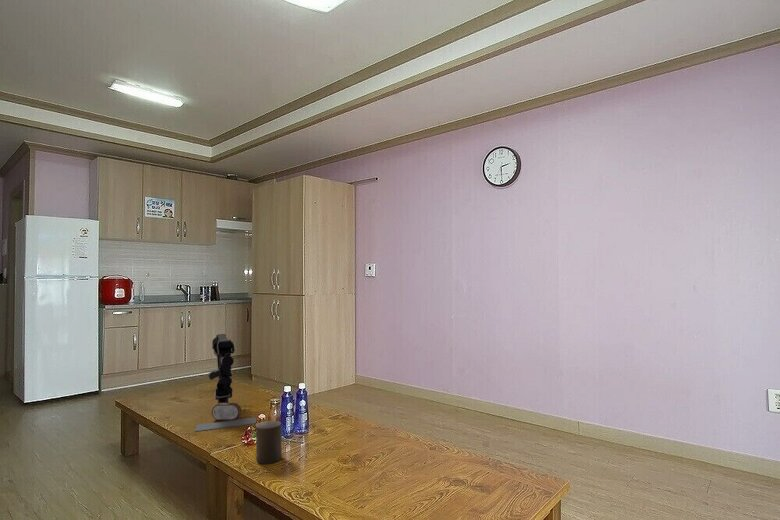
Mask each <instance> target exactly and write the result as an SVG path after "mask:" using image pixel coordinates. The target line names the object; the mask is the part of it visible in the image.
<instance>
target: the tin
mask: <svg viewBox="0 0 780 520" xmlns="http://www.w3.org/2000/svg"><path fill="white" fill-rule="evenodd" d="M241 414H242V408H241V406H240V405H239V403H236V402H229V403H218V402H217V403H216V404H215V405H214V406H213V407H212V409H211V416H212V418H213V419H215V420H216V421H230V420H238V419H239V418H240V416H241Z"/></svg>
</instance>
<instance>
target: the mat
mask: <svg viewBox="0 0 780 520" xmlns="http://www.w3.org/2000/svg"><path fill="white" fill-rule="evenodd" d="M247 425H257V419H256V417H255V416H254V417H245V418H237V419H235V420H221V421H217V422H210V423H207V422H206V423H202V424H196V426H195V429H194V432H196V431H198V432H204V431H203V430H205V431H210V429H212V430H218V428H220V429H225V428H226V429H227V428H232V427H233V428H234V427H240V426H247Z"/></svg>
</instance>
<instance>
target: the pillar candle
mask: <svg viewBox="0 0 780 520" xmlns="http://www.w3.org/2000/svg"><path fill="white" fill-rule="evenodd" d="M255 425H256V427H255V433H256V434H255V438H256V439H255V440H256V441H255V442H256V443H255V445H256V446H255V447H256V448H255V449H256V451H255V452H256V454H255V457H256V458H255V459H256V460H255V461H256V462H257V463H258V464H262V465H268V464H275V463H277V462H279V461H280V460H282V457H283V455H282V422H281V421H279V420H268V421H261V422H258V423H256V424H255Z"/></svg>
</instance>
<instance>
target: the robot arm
mask: <svg viewBox="0 0 780 520" xmlns="http://www.w3.org/2000/svg"><path fill="white" fill-rule="evenodd" d="M211 341H212V342H211V343H212V344H211V349H212V350H213V354H214V355H215V356H216V364H217V366H216V367H217V369H215V370H212V371H210V372H209V373H208V374H207V375H208V378H209V379H210V381H212V380H214V379H216V378H217V379H218V382H217V383H216V387H215V388H214V400H215V401H217V404H218V403H230V401H229V399H230V398H231V399H232V397H233V388H232V386H231V384H232V383H233V378H232V377H233V371H232V366H233V364H234V362H235V361H234V357H232V354H234V353H235V344H234V342H233V341H232V339H228V337H227V334H226V333H221V334H216V336H215V337H214V338H213V339H212V340H211Z"/></svg>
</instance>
